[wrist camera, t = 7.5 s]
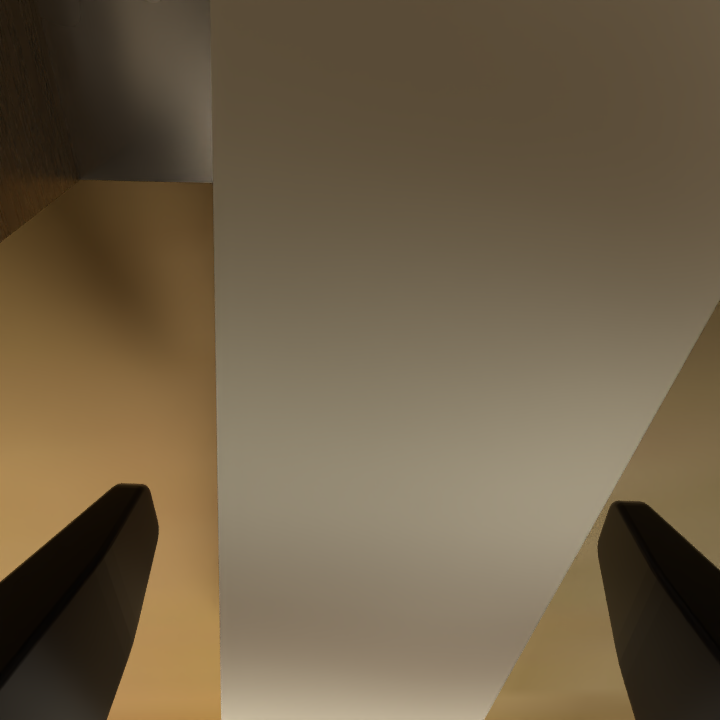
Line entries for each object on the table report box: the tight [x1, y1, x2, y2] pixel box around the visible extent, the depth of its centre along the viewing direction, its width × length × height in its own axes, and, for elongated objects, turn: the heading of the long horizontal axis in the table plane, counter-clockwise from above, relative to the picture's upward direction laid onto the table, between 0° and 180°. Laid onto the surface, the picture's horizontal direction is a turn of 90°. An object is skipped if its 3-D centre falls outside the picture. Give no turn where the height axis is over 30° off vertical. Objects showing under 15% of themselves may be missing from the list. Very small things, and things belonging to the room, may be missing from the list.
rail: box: [210, 0, 720, 720], centre depth 9 cm, size 16×4×4 cm, turn 173°
